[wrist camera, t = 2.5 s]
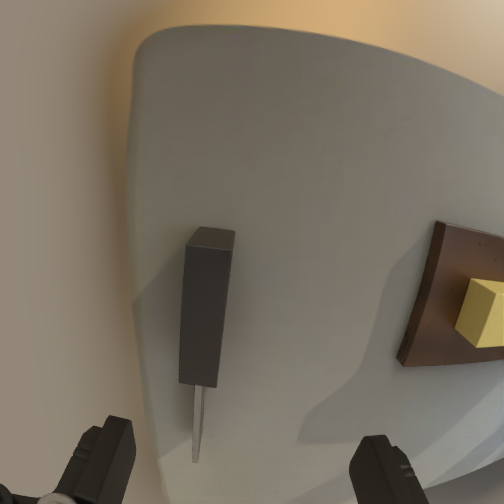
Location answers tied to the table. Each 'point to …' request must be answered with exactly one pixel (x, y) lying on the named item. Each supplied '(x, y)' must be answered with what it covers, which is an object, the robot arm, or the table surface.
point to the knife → (203, 315)
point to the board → (451, 297)
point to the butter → (483, 314)
